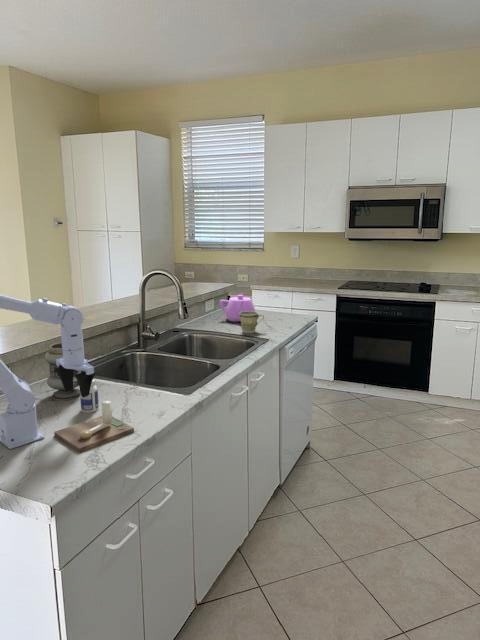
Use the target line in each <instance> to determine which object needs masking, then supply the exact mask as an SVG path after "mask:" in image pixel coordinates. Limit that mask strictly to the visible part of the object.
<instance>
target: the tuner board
mask: <svg viewBox="0 0 480 640" xmlns="http://www.w3.org/2000/svg"><path fill="white" fill-rule="evenodd" d="M102 423H103V416H102V415H101V416H100V415H99V416H97V417H94V418H92V419H88V420H84V421H83V422H79V423H77V424H73V425H70V426H68V427H64V428H60V429H59V430H55V431H54V433H53V434H54V437H55V438H57V439H59V440H60V441H61V442H64V443H65V444H66V445H68V446H69V447H71V448H72V449H74V450H75V451H76V452H78V453H82V452H84V451H87V450H90V449H92V448H95V447H99V446H101V445H103V444H106V443H109V442H111V441H113V440H115V439H119V438H122V437H124V436H127V435H129V434H132V433H134V432H135V427H133V426H131V425H129V424H127V423H125V422H124V421H121V420H120V419H117V417H114V416H112V424H110V425H108V426H106V427H104V428H102V429H100V430H98V431H96V432H94V433H92V436H91V437H90V438H87V439H82V438H80V432H81V431H83V430H90V429H92V428H94V427H96V426H98V425H100V424H102Z"/></svg>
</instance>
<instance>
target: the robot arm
mask: <svg viewBox="0 0 480 640" xmlns="http://www.w3.org/2000/svg"><path fill="white" fill-rule="evenodd" d="M0 309H2V310H7V311H14V312H19V313H25V314H28V315H29V316H30V318H31V319H32V320H35V321H39V322H44V323H49V324H54V325H60V338H61V342H62V351H63V358H60V359H56V363H57V366H59V368H57V369H55V372H56V373H57V374H58V376H59V377H60V379H61V381H62V384H63V387H64V389H65V391H66V392H67V391H70V390H73V373H74V370H77V371H80V372H81V373H80V374H76V375H75V377H76V379H77V381H78V384H79V386H78V388H79V390H80V393H81V396H82V397H86V396H88V395H89V393H90V387H91V383H92V380H93V379H94V378H95V376H96V375H97V374H96V371H95V366H93V365H91V364H90V363H88V362H89V360H88V359H85V351H84V350H85V349H84V336H83V329H82V325H83V324H84V320H85V319H84V318H85V317H84V316H83V314H82V311H81V310H79V309H78V308H77V307H76V306H74V305H71V304H67V303H65V302H61V303H59V302H54V301H49V298H47V297H42V299H41V298H37V299H35V300H33V301H28V300H24V299H21V298H16V297H15V296H14V297H13V296H10V295H7V294H3V293H0ZM0 390H1V392H2V394H3V395H4V396H5V397H6V398H7V400H8V406H7V407H6V410H5V411H3V412H2V413H0V442H1V443H2V444H3V445H4V446H6V447H7V448H8V449H10V450H12V449H14V448H17V447H18V448H19V447H21V446H23V445H24V446H25V445H27V444H29V443H32V442H36V441H39V440H41V439H44V438H45V435H43V434H42V433H41V432H40V431H39V428H38V427H39V426H38V419H37V418H38V417H37V407H36V398H35V397H36V396H35V394H34V393H33V392H32V390H31V387H30V384H29V383H28V382H27V381H25V380H22V379H20V378H19V377H18V376H17V375H16V374H15V373H13V372H12V371H11V370H10V369H9V367H8V366H7V365H6V364H5V363H4V362H3V360H2V359H1V358H0Z"/></svg>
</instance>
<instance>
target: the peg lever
mask: <svg viewBox="0 0 480 640" xmlns="http://www.w3.org/2000/svg"><path fill="white" fill-rule="evenodd" d="M112 410H113V409H112V401H111V400H103V401H102V402H101V413H102V415H101V416H103V423H102V424H100V425H98V426H96V427H94V428H92V429H90V430H83V431H81V432H80V438H82V439H87V438H90V437H91V436H92V433H94V432H96V431H98V430H100V429H102V428H104V427H106V426H108V425H110V424H112V417H113V412H112Z"/></svg>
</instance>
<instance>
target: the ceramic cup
mask: <svg viewBox="0 0 480 640" xmlns="http://www.w3.org/2000/svg"><path fill="white" fill-rule="evenodd" d="M239 314H240V320H241V321H240V324H241V330H242V333H245V334H254V333H255V332H256V328H257V326H258V324H260V323H261V322H262V321H263V320H264V319H265V317H264V315H263V314H259V312H256V311H255V312H251V311H246V312H240V313H239ZM259 317H263V318H262V319H260V320H259V321H258V319H259Z"/></svg>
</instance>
